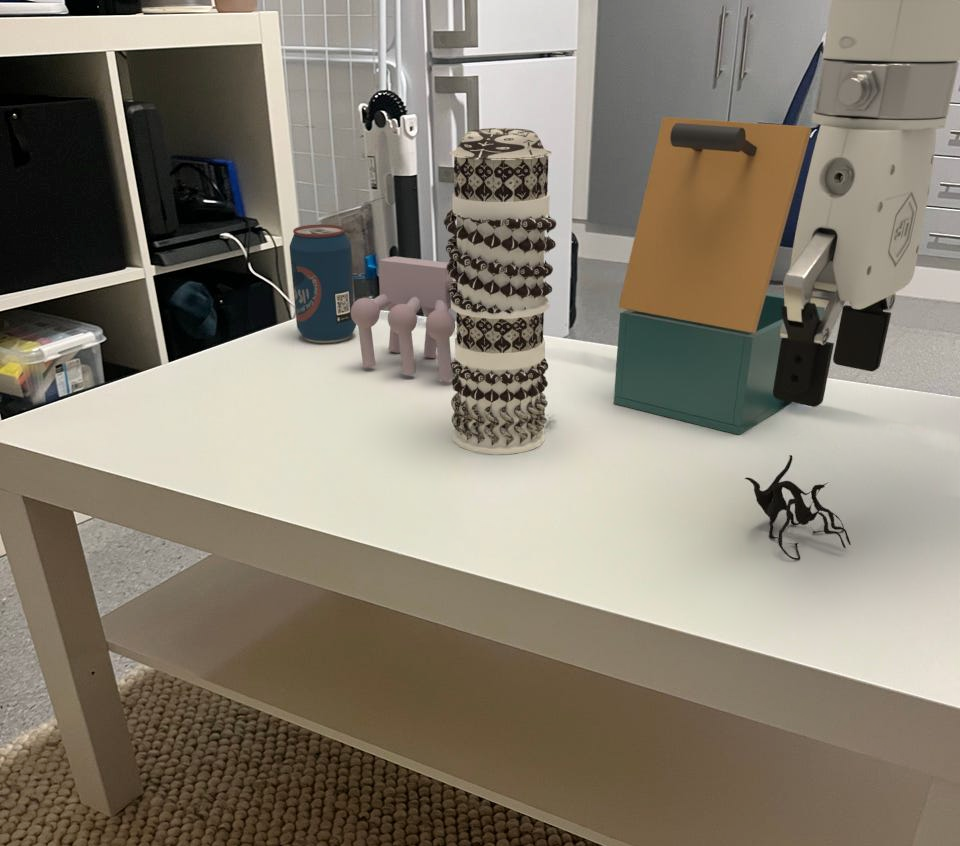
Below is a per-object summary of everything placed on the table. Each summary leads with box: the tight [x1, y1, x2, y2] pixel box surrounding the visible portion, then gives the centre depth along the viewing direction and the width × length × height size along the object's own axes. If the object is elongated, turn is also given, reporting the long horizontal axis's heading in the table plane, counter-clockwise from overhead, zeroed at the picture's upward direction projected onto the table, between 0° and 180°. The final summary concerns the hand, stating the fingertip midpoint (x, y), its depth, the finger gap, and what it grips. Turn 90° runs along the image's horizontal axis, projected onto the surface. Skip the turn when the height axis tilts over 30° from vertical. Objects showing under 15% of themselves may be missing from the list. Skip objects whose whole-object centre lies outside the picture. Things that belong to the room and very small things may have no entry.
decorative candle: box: [443, 127, 557, 455], centre depth 85 cm, size 9×9×25 cm
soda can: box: [288, 224, 357, 344], centre depth 117 cm, size 7×7×12 cm
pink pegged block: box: [351, 255, 456, 382], centre depth 105 cm, size 20×11×14 cm, turn 62°
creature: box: [744, 454, 852, 561], centre depth 73 cm, size 8×5×8 cm
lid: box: [618, 116, 812, 334], centre depth 87 cm, size 16×14×5 cm
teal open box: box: [613, 292, 826, 435], centre depth 99 cm, size 16×14×9 cm
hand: (827, 383), depth 68 cm, fingers open, 9 cm apart
